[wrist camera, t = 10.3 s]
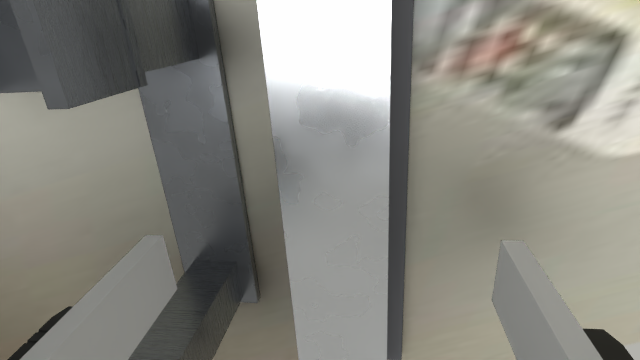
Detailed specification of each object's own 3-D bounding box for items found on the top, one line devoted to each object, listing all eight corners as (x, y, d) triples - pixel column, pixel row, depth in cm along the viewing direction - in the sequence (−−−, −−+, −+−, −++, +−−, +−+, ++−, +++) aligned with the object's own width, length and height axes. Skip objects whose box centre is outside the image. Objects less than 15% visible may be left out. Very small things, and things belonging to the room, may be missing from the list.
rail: (322, 349, 27) (307, 433, 22) (287, -75, 17) (243, -117, 11) (384, 354, 26) (385, 442, 21) (389, -86, 16) (393, -137, 11)
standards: (183, 292, 28) (57, 471, 17) (105, -7, 20) (-228, -33, 9) (272, 297, 27) (197, 492, 16) (227, -18, 19) (14, -62, 8)
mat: (313, 347, 28) (312, 353, 27) (273, -83, 17) (270, -87, 17) (400, 353, 27) (401, 360, 26) (415, -100, 16) (417, -104, 16)
